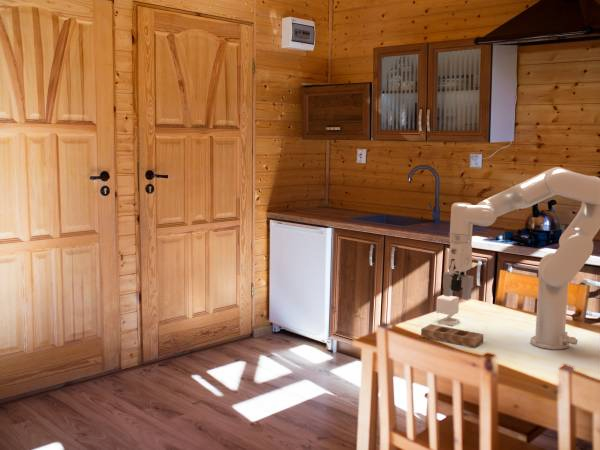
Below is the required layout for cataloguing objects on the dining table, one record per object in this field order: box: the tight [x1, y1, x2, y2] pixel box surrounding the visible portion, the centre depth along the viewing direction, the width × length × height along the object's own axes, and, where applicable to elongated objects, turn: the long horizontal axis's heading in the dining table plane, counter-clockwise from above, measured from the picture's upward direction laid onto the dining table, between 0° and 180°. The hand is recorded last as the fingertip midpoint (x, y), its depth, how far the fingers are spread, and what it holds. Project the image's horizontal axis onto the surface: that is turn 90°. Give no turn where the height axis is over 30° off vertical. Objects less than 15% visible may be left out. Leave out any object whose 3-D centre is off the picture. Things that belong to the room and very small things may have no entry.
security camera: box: [435, 294, 460, 327], centre depth 263 cm, size 6×7×10 cm
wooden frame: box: [420, 323, 484, 349], centre depth 243 cm, size 20×8×3 cm, turn 54°
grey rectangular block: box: [442, 271, 475, 301], centre depth 243 cm, size 10×3×8 cm, turn 52°
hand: (457, 289), depth 243 cm, fingers closed on grey rectangular block, 3 cm apart
